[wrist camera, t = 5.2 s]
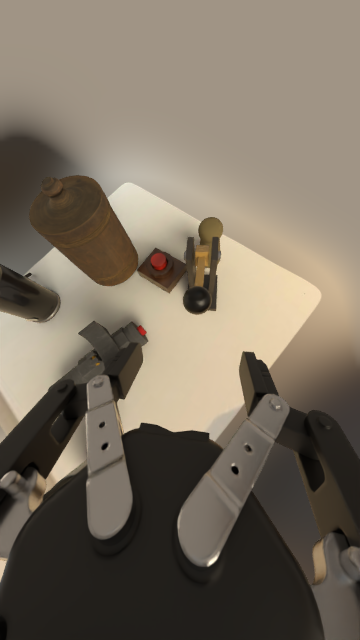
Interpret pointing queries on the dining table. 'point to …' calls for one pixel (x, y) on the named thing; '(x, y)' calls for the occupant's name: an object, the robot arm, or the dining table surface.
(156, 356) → the dining table surface
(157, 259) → the button
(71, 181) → the wooden container
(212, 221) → the tan wooden game pawn
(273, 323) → the dining table surface
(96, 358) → the laser sight
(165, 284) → the lamp base
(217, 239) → the switch bracket
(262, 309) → the dining table surface
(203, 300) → the lever
